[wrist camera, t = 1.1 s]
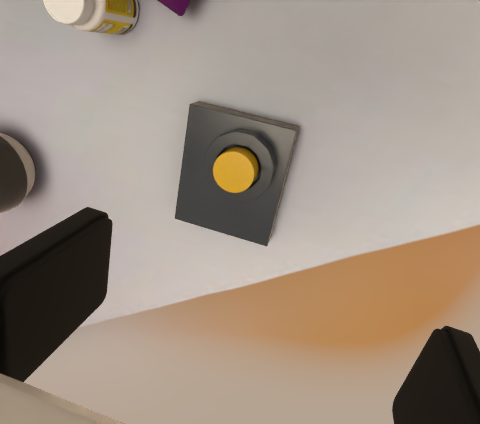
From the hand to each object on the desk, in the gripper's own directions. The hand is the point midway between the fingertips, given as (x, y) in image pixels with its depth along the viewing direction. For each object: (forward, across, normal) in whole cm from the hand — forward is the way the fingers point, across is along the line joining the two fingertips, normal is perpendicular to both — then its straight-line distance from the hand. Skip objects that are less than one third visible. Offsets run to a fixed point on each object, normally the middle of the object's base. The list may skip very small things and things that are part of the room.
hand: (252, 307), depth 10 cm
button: (+26, +6, +5) cm, 27 cm away
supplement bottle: (+30, +23, -6) cm, 38 cm away
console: (+30, +7, +7) cm, 31 cm away
